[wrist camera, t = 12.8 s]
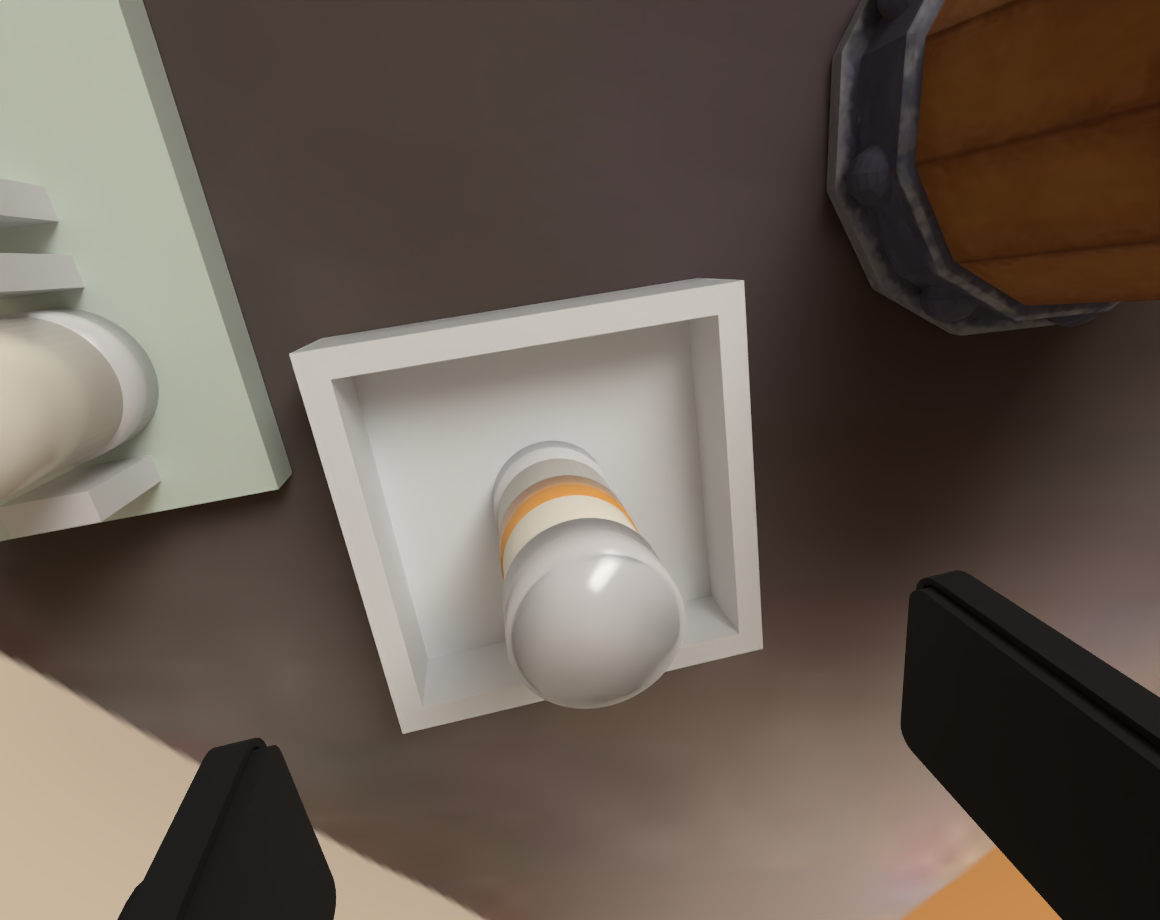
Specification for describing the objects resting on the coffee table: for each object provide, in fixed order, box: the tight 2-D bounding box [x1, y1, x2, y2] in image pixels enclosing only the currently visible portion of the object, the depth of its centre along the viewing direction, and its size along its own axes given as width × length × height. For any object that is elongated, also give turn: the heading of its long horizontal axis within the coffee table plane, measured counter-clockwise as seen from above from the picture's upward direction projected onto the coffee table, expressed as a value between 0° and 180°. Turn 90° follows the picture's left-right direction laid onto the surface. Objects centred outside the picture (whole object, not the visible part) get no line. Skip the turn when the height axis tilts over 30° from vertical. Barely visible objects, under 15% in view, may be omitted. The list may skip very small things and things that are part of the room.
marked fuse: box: [493, 441, 685, 709], centre depth 16 cm, size 4×4×8 cm
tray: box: [289, 278, 763, 734], centre depth 19 cm, size 12×12×4 cm
